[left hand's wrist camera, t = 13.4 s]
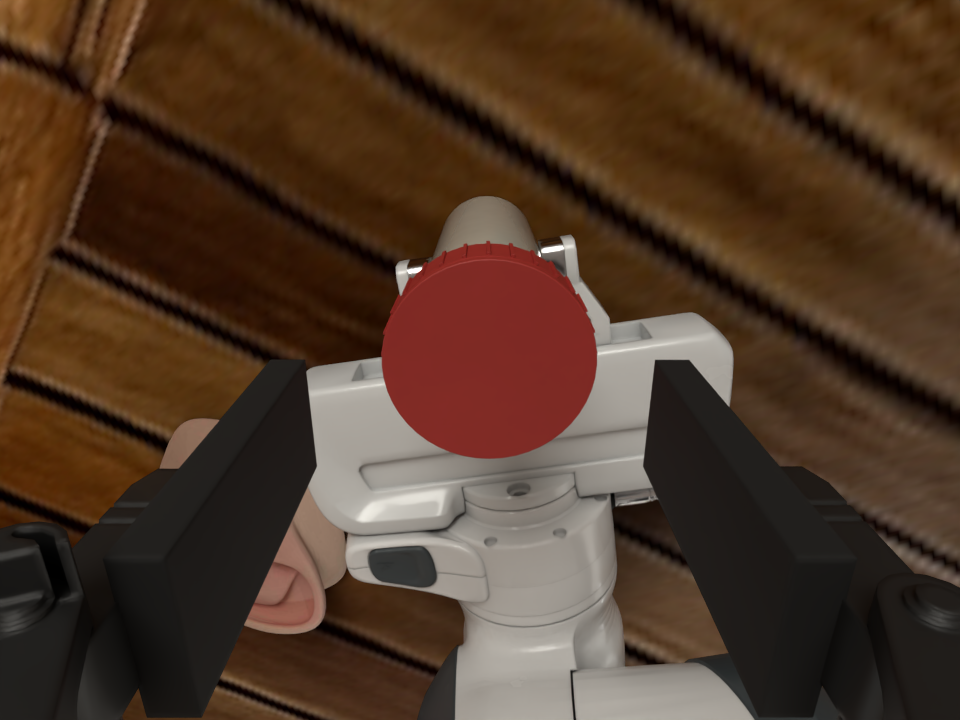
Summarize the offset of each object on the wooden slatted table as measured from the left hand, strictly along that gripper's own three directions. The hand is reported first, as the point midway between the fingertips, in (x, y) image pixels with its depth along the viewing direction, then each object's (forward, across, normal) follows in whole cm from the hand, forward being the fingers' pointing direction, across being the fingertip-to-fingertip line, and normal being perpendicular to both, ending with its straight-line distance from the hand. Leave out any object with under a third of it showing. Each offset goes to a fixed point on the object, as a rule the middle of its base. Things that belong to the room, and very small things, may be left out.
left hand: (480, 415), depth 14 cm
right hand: (+14, 0, -1) cm, 14 cm away
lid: (+3, 0, 0) cm, 3 cm away
